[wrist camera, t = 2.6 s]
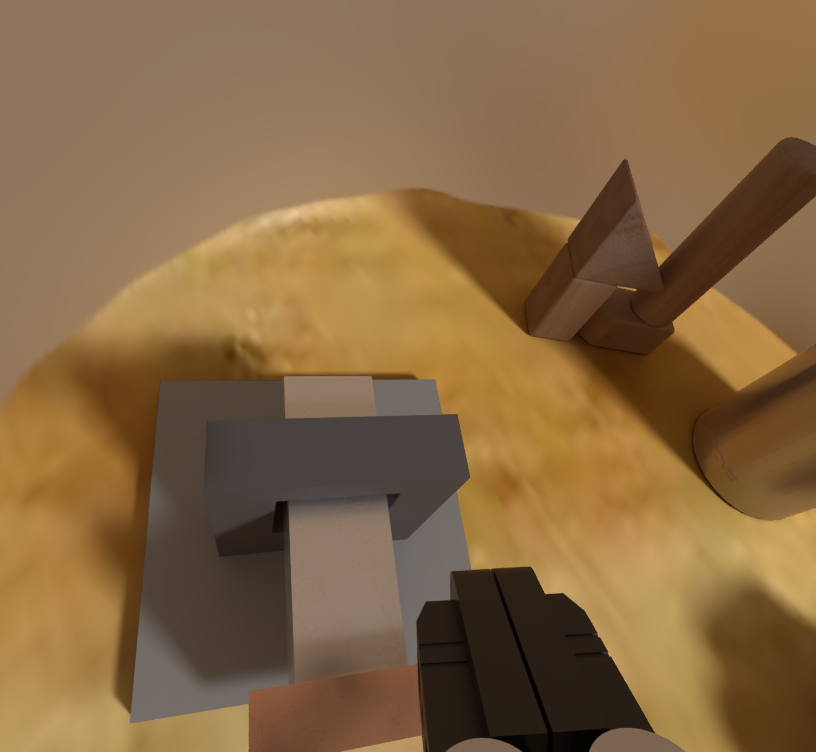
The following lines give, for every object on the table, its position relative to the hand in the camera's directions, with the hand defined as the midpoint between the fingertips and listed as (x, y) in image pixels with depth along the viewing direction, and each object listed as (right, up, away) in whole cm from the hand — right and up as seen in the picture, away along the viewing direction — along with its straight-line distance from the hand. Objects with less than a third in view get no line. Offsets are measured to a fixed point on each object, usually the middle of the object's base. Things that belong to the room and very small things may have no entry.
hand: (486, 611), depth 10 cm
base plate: (-7, -4, +21) cm, 22 cm away
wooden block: (+13, +8, +34) cm, 37 cm away
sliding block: (-5, -4, +16) cm, 17 cm away
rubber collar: (-7, -4, +19) cm, 21 cm away
